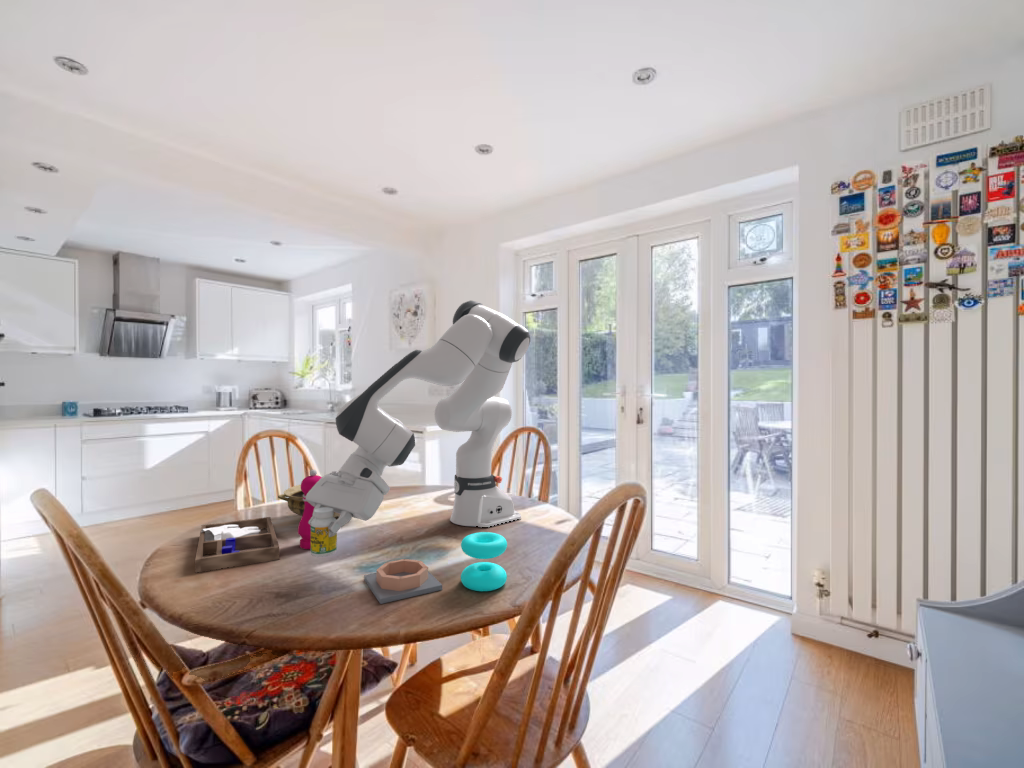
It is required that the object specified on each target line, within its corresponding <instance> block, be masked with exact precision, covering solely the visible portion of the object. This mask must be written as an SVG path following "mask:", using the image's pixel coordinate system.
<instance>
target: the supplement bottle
mask: <svg viewBox="0 0 1024 768" xmlns="http://www.w3.org/2000/svg"><path fill="white" fill-rule="evenodd" d="M333 514H334V509H333V508H330V507H324V508H318V509H315V510H314V517H315V519H313V520H312V522H311V549H310V555H311V556H313V557H317V558H323V557H329V556H333V555H334V554H335V553H336V552H337V548H338V542H337V541H338V537H337V536H338V532H337V533H333V532H330V531H329V530H328V526H329V525H330V523H331V522H335V521H336V519H335V518H334V517H332V516H333Z"/></svg>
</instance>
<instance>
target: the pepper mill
mask: <svg viewBox="0 0 1024 768" xmlns="http://www.w3.org/2000/svg"><path fill="white" fill-rule="evenodd" d="M322 477H323V476H320V475H318V471H317V470H316V469H311V470H310V471H309V475H308V476H306V477H304V478H303V479H302V481H301V482H300V484H301V490H302V492H303V493H304V495H303V501H304V503H305V507H304V513H303V516H301V519H299V520H300V521H299V522H298V527H297V534H298V535H299V536H300V537H301V538H300V539H299V548H300V549H304V550H311V525H310V524H309V523H308V522H309V520H310V519H311V517H312V515H313V511H314V508H315V507H314V506H312V505H311V504H310V503H309V502H307V501H306V495H307V493H308V492H309V491H310V490H311V489H312V487H313V486H314V485H315V484H316V483H317V482H318V481H319V480H320V479H321V478H322Z"/></svg>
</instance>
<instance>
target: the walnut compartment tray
mask: <svg viewBox="0 0 1024 768" xmlns="http://www.w3.org/2000/svg"><path fill="white" fill-rule="evenodd" d="M223 525H238V526H239V527H238V528H240V529H241V528H244V527H258V528H259V529H258V530H263V528H265V529H266V531H268V532H265V533H259V534H256V535H249V536H242V537H236V551H238V550H240V552H234V553H228V554H222V547H224V546H225V545H226V539H220V540H213V541H206V542H205V532H201V530H202V529H206V528H213V527H220V526H223ZM266 546H267V547H266ZM268 546H269V547H268ZM258 547H259V548H258ZM253 548H254V549H253ZM255 548H256V549H255ZM247 549H248V550H247ZM213 553H214V554H215V555H214V554H213ZM205 554H207V555H210V556H205ZM276 560H280V545H279V542H278V538H277V535H276V532H275V527H274V525H273V522H272V518H271V516H264V517H257V518H249V519H242V520H233V521H232V520H231V521H226V522H224V521H223V522H215V523H210V524H209V523H208V524H202V525H201V527H200V532H199V537H198V542H197V548H196V554H195V559H194V563H195V565H194V567H195V568H194V571H195V574H198V573H197V572H199V573H203V572H202V571H205V572H210V570H211V571H216V569H217V570H222V569H221V568H223V569H228V568H227V567H229V568H234V567H233V566H235V567H240V566H248V565H253V564H260V563H265V562H271V561H276Z"/></svg>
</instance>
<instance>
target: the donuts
mask: <svg viewBox="0 0 1024 768" xmlns="http://www.w3.org/2000/svg"><path fill="white" fill-rule="evenodd" d="M507 548H508V541H507V539H506V538H505V537H504V536H503V535H501V534H499V533H497V532H496V533H495V532H492V531H490V532H489V531H480V532H474V533H471V534H470V533H469V534H468V535H466V536H464V537H463V538H462V540H461V542H460V549H461V550H462V552H463V553H464V554H465V555H467V556H468V557H471V558H473V559H478V560H490V559H495V558H497V557H499V556H501V555H502V554H504V553H505V552H506V550H507ZM460 580H461V583H462V585H463V586H464V587H465V588H467V589H469V590H471V591H476V592H491V591H495V590H497V589H498V590H499V589H500V588H502V587H503V586H504V585H505V584H506V582H507V580H508V575H507V572H506V570H505V569H504V567H502V566H501V565H499V564H498V563H495V562H494V563H493V562H490V561H479V562H474V563H471V564H469V565H467V566H466V567H465V568H463V570H462V571H461V574H460Z"/></svg>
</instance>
